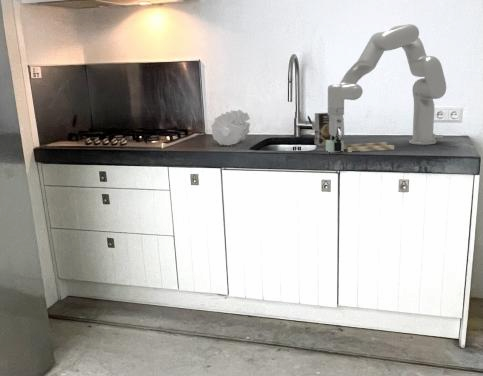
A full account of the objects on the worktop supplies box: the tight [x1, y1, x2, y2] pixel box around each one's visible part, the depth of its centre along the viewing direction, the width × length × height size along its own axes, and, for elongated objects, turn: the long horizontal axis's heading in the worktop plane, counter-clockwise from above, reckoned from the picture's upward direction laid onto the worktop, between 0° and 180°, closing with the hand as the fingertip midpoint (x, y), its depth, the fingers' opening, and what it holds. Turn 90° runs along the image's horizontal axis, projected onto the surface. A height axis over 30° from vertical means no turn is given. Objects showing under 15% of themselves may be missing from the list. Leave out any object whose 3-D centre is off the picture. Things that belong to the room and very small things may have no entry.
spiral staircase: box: [210, 109, 251, 146], centre depth 276 cm, size 18×18×25 cm
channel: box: [343, 141, 395, 153], centre depth 242 cm, size 22×10×2 cm, turn 96°
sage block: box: [325, 139, 344, 153], centre depth 240 cm, size 7×6×5 cm
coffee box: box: [314, 112, 330, 147], centre depth 259 cm, size 9×6×16 cm
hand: (335, 149), depth 241 cm, fingers closed on sage block, 6 cm apart
